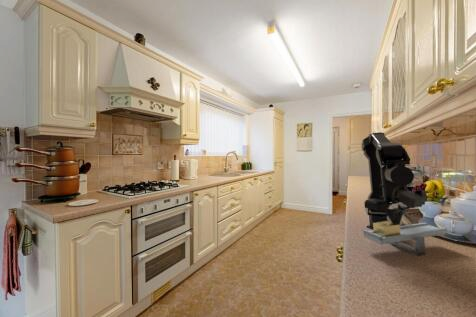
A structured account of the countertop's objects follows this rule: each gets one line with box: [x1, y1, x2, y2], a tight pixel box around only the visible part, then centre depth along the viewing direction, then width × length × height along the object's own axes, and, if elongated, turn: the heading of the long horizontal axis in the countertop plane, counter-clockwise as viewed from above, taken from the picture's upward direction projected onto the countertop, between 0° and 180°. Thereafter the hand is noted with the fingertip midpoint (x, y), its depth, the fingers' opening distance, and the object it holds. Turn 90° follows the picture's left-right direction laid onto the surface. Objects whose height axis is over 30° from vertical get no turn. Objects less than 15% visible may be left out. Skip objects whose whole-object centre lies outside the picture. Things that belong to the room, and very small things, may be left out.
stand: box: [389, 236, 426, 257], centre depth 70 cm, size 11×2×6 cm, turn 10°
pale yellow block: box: [372, 221, 401, 237], centre depth 69 cm, size 4×6×4 cm
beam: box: [363, 222, 448, 245], centre depth 70 cm, size 8×26×3 cm, turn 100°
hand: (396, 227), depth 69 cm, fingers closed
